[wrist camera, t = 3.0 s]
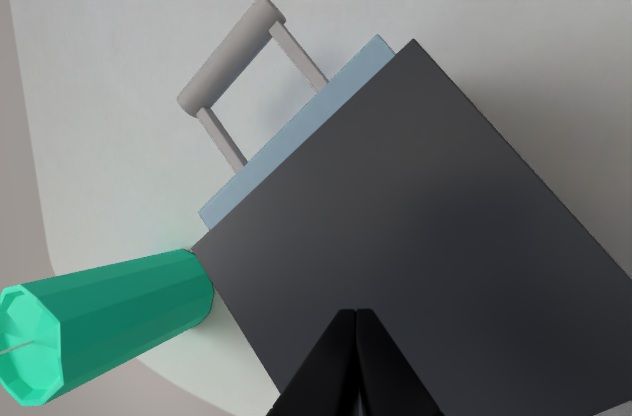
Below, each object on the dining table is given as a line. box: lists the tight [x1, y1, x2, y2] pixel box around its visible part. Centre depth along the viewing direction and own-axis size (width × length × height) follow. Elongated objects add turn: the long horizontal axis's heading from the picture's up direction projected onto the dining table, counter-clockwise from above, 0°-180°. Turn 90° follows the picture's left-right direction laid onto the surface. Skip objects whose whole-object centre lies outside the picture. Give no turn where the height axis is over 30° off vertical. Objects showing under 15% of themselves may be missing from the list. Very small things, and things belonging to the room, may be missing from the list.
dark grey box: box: [191, 39, 632, 416], centre depth 15 cm, size 12×12×9 cm
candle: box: [0, 249, 214, 406], centre depth 21 cm, size 6×6×12 cm
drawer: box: [177, 0, 396, 231], centre depth 16 cm, size 16×10×7 cm, turn 39°
